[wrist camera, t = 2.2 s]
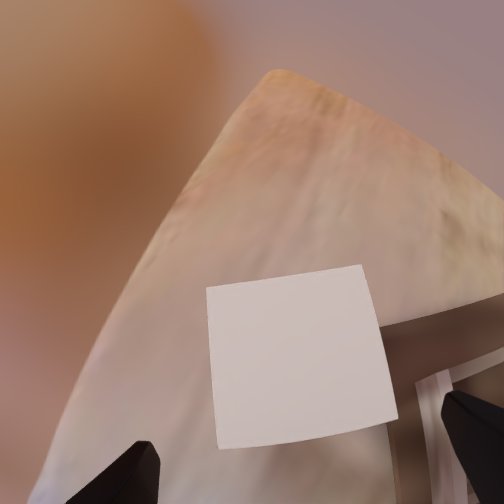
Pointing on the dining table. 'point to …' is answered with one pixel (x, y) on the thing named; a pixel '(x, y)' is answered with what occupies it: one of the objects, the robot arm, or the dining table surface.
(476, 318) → the square socket base
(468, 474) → the robot arm
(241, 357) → the tan box white top
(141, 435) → the dining table surface
